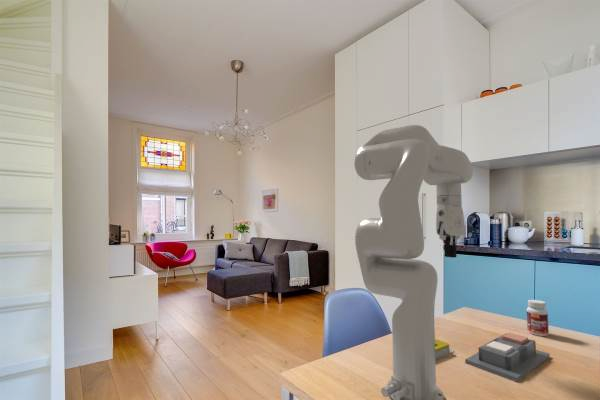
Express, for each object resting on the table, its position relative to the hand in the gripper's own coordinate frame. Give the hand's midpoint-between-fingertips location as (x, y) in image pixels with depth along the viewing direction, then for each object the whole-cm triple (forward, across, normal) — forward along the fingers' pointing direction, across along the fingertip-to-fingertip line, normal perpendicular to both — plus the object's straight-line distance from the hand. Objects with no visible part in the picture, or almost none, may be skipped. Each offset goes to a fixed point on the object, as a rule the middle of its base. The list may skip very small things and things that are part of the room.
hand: (450, 256), depth 104 cm
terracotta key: (+26, +9, -15) cm, 31 cm away
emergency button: (+30, -11, +2) cm, 31 cm away
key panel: (+29, +3, -15) cm, 32 cm away
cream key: (+27, -2, -15) cm, 31 cm away
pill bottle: (+29, +35, -12) cm, 47 cm away
